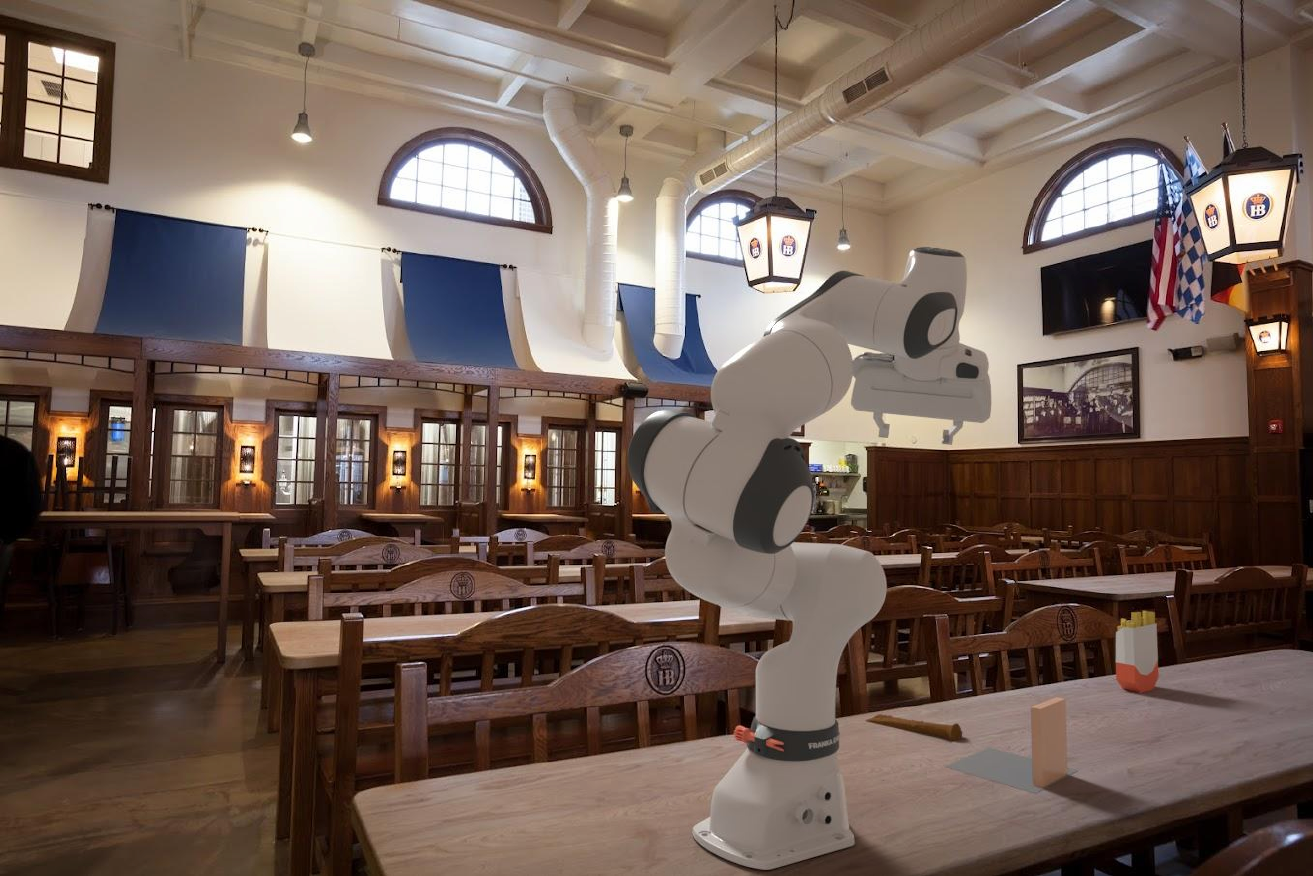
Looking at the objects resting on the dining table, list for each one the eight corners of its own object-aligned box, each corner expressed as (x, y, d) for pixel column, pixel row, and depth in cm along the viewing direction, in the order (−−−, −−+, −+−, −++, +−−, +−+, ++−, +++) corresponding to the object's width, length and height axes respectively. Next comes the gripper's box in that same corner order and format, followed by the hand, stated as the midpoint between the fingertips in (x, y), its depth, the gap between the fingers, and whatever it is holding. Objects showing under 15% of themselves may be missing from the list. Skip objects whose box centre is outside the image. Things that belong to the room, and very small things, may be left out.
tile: (1042, 788, 122) (1040, 709, 123) (1032, 785, 123) (1029, 706, 124) (1067, 774, 128) (1065, 699, 129) (1057, 771, 129) (1055, 697, 130)
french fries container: (1114, 690, 182) (1112, 611, 184) (1138, 683, 188) (1135, 607, 190) (1135, 694, 179) (1132, 614, 180) (1159, 687, 185) (1156, 609, 186)
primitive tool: (864, 723, 158) (864, 705, 159) (879, 717, 162) (879, 700, 162) (955, 746, 144) (955, 727, 144) (969, 740, 148) (969, 721, 148)
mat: (1035, 796, 120) (1035, 793, 120) (944, 769, 131) (944, 766, 131) (1077, 773, 130) (1077, 770, 130) (989, 749, 141) (989, 747, 141)
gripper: (850, 358, 117) (844, 441, 123) (999, 370, 111) (984, 456, 117) (855, 343, 122) (849, 423, 129) (997, 354, 116) (983, 437, 123)
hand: (914, 439), depth 123 cm, fingers open, 8 cm apart
